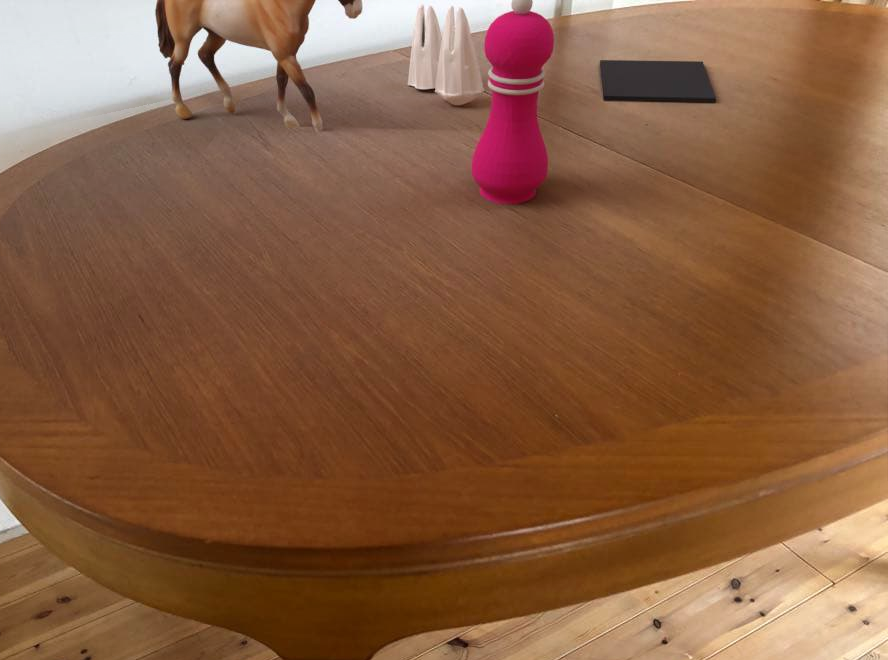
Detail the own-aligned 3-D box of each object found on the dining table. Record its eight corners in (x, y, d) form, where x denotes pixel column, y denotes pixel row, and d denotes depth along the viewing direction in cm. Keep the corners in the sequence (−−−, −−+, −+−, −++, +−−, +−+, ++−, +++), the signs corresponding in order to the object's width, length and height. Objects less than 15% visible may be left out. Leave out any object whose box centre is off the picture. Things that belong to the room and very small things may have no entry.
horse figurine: (377, 136, 103) (372, -60, 90) (339, 161, 98) (328, -42, 85) (177, 92, 117) (148, -83, 104) (136, 112, 112) (100, -69, 99)
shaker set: (485, 106, 108) (490, 11, 101) (456, 114, 107) (459, 17, 100) (432, 78, 116) (434, -12, 109) (405, 85, 115) (405, -6, 108)
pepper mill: (454, 208, 88) (461, -6, 75) (503, 185, 91) (519, -24, 79) (508, 233, 84) (526, 10, 71) (558, 208, 87) (584, -9, 74)
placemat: (701, 65, 116) (702, 61, 115) (715, 103, 106) (716, 98, 105) (599, 64, 118) (600, 59, 117) (603, 100, 108) (604, 95, 108)
